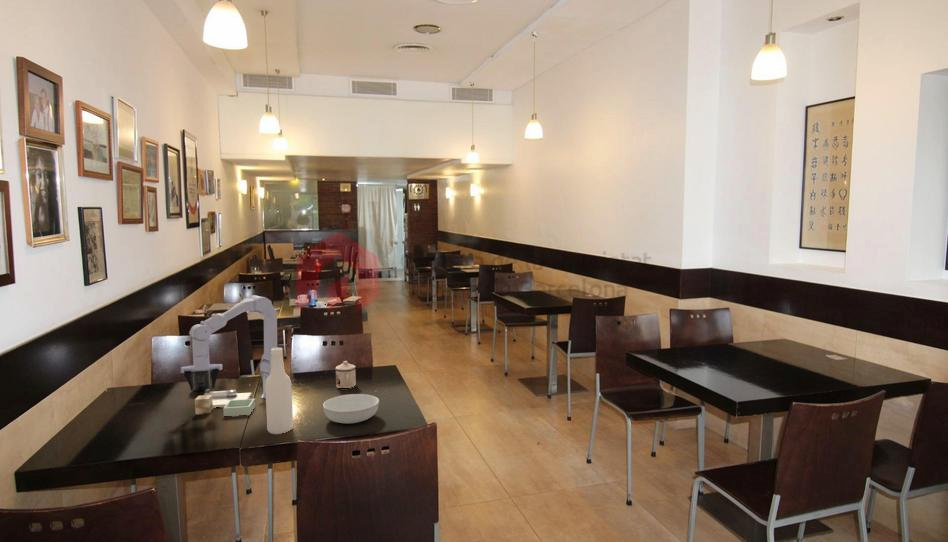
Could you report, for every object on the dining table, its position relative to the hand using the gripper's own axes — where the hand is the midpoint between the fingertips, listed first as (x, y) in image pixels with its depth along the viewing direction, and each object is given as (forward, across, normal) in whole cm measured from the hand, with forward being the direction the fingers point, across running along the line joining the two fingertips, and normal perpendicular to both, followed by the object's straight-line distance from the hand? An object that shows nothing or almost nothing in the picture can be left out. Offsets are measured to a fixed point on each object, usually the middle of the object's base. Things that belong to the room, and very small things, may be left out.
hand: (203, 388), depth 219 cm
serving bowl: (+10, -56, +25) cm, 62 cm away
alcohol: (+10, -31, +29) cm, 43 cm away
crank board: (+9, -7, -10) cm, 16 cm away
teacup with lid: (+10, -56, -16) cm, 59 cm away
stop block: (+9, 0, 0) cm, 9 cm away
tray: (+9, -14, +4) cm, 17 cm away
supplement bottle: (+10, +7, -33) cm, 35 cm away
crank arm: (+8, -4, -14) cm, 16 cm away
